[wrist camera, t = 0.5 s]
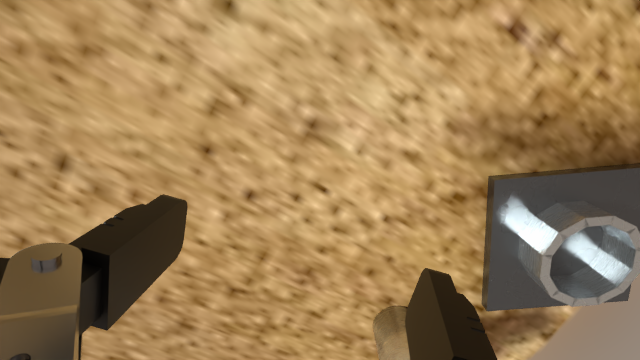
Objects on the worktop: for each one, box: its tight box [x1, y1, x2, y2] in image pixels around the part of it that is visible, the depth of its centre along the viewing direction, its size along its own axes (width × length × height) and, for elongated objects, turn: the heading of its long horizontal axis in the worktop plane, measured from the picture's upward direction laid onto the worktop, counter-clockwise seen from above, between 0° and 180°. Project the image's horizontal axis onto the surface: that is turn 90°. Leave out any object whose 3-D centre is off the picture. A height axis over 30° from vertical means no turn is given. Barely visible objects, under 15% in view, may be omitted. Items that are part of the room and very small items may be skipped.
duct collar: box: [482, 163, 640, 311], centre depth 32 cm, size 14×14×5 cm
